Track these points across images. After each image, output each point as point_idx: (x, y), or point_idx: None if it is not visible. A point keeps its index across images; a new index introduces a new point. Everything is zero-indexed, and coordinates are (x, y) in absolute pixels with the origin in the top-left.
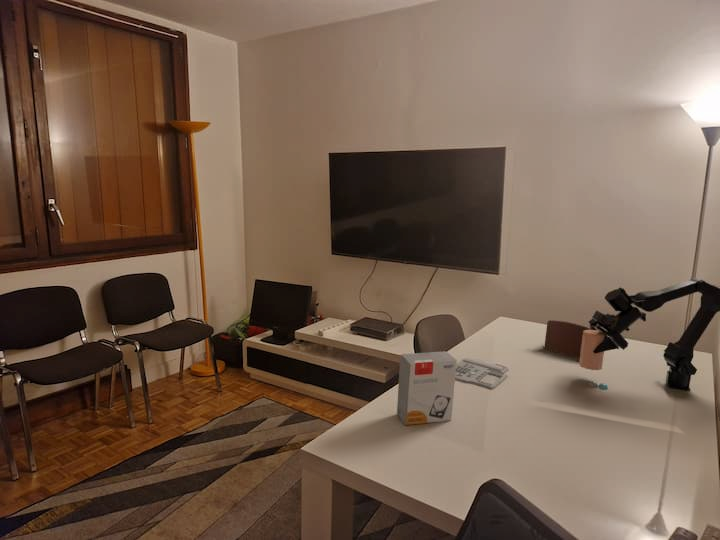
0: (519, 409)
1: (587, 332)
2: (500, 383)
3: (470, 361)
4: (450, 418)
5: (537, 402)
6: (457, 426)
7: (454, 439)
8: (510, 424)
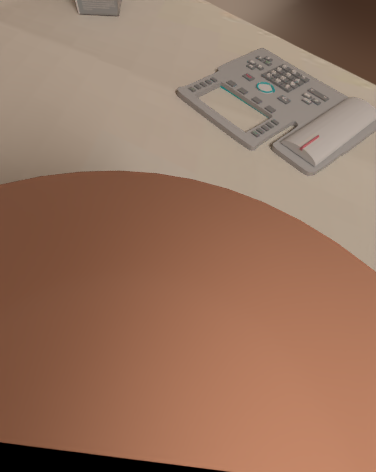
0: (65, 95)
1: (216, 289)
2: (207, 118)
3: (339, 103)
4: (77, 8)
5: (78, 140)
6: (57, 14)
7: (26, 2)
8: (19, 61)
